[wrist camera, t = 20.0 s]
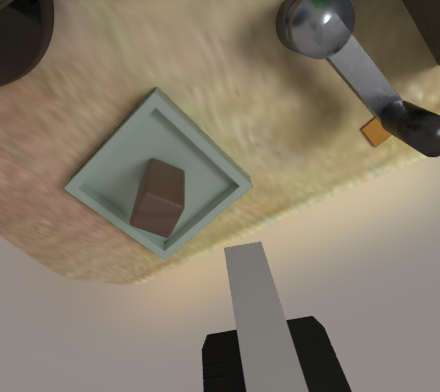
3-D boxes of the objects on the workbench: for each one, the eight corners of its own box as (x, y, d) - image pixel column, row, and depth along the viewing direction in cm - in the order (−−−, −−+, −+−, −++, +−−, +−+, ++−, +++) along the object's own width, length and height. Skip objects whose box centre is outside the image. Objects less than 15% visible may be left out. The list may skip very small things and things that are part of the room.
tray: (70, 178, 38) (63, 188, 36) (156, 86, 34) (154, 92, 32) (166, 247, 43) (165, 260, 41) (249, 176, 39) (252, 186, 37)
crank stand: (232, -21, 30) (251, -32, 21) (396, -201, 25) (506, -309, 17) (367, 152, 39) (418, 194, 31) (504, 44, 35) (611, 57, 26)
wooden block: (171, 198, 39) (168, 240, 32) (138, 186, 38) (127, 226, 31) (186, 169, 38) (186, 207, 31) (151, 155, 36) (143, 190, 29)
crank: (275, 26, 28) (301, 32, 22) (322, -27, 27) (366, -37, 20) (376, 141, 34) (420, 173, 28) (419, 103, 32) (477, 127, 26)
